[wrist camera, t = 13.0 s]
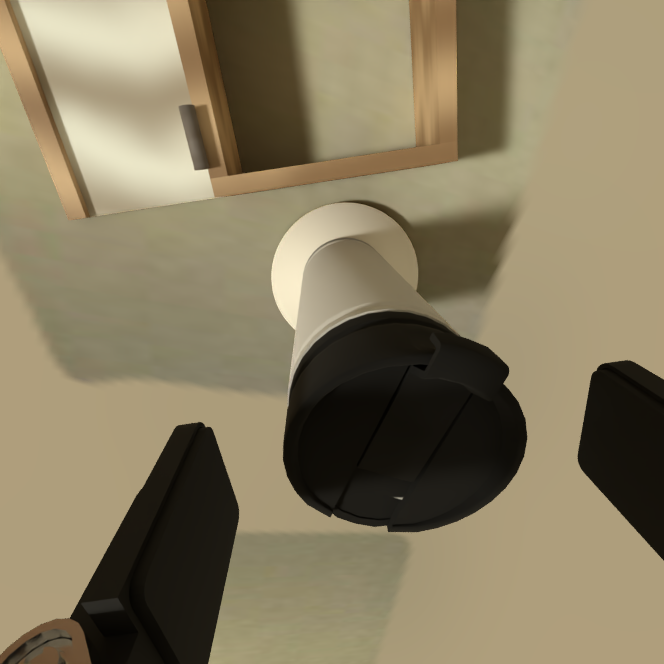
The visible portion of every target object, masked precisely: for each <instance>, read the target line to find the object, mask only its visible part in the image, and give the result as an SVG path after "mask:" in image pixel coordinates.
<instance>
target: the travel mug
mask: <svg viewBox="0 0 664 664" xmlns="http://www.w3.org/2000/svg"><path fill="white" fill-rule="evenodd" d="M508 374H509V367H508V366H507V365H506V364H505V363H504V362H503V361H502V360H501V359H500V358H499V357H498V356H497V355H496V354H495V353H494V352H492V351H491V350H490V349H489V348H488V347H486V346H484V345H481V344H479V343H477V342H474V341H472V340H469V339H466V338H463V337H461V336H460V335H459V334H458V333H457V332H456V331H455V330H454V329H452V327H451V326H450V325H449V324H448V323H447V322H446V321H445V320H444V319H443V318H442V317H441V316H440V315H439V314H438V313H437V312H436V311H435V310H434V309H433V308H432V307H431V306H430V305H429V304H428V303H427V302H426V301H425V300H424V299H423V298H422V297H421V296H420V294H419V293H418V292H417V291H416V290H415V289H414V288H413V287H412V286H411V285H410V284H409V283H408V282H407V281H406V280H405V279H404V278H403V277H402V276H401V275H400V274H399V273H398V272H397V271H396V270H395V269H394V268H393V267H392V266H391V265H390V264H389V263H388V262H387V261H386V260H385V259H384V258H383V257H382V256H381V255H380V254H379V253H378V252H377V251H376V250H375V249H374V248H373V247H371V246H370V245H369V244H367V243H365V242H363V241H361V240H358V239H354V238H337V239H333V240H331V241H328V242H326V243H324V244H323V245H321V246H320V247H318V248H317V249H316V250H315V251H314V252H313V253H312V255H311V256H310V257H309V259H308V261H307V263H306V265H305V268H304V272H303V279H302V286H301V294H300V301H299V309H298V317H297V325H296V332H295V340H294V348H293V355H292V363H291V371H290V381H289V386H288V409H287V418H286V426H285V434H284V445H283V462H284V465H285V469H286V473H287V477H288V479H289V481H290V482H291V484H292V486H293V488H294V490H295V491H296V492H297V494H298V495H299V496H300V497H301V498H302V499H303V500H304V502H305V503H306V504H307V505H309V506H311V507H313V508H315V509H316V510H318V511H320V512H321V513H323V514H325V515H327V516H328V517H331V515H332V513H333V514H334V515H335V516H336V517H338V518H341V519H344V520H347V521H350V522H353V523H356V524H362V525H367V526H373V527H377V526H385V525H387V528H388V532H420V531H425V530H430V529H434V528H439V527H442V526H445V525H448V524H451V523H453V522H457V521H459V520H461V519H463V518H464V517H467V516H469V515H471V514H473V513H475V512H476V511H478V510H479V509H481V508H482V507H484V506H485V505H487V504H488V503H489V502H491V501H492V500H493V499H494V498H495V497H497V496H498V495H499V494H500V493H501V492H502V491H503V490H504V489H505V488H506V487H507V485H508V484H509V483H510V481H511V480H512V478H513V477H514V476H515V474H516V473H517V471H518V469H519V466H520V464H521V462H522V460H523V457H524V454H525V448H526V442H527V431H526V421H525V417H524V415H523V412H522V410H521V407H520V405H519V402H518V401H517V400H516V398H515V397H514V396H513V394H512V393H511V392H510V390H509V389H508V388H507V387H506V386H505V385H504V384H503V383H504V381H505V380H506V378H507V377H508Z"/></svg>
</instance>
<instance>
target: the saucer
mask: <svg viewBox="0 0 664 664" xmlns="http://www.w3.org/2000/svg"><path fill="white" fill-rule="evenodd" d="M337 238H354V239H358V240H361V241H363V242H365V243H367V244H369V245H370V246H371V247H373V248H374V249H375V250H376V251H377V252H378V253H379V254H380V255H381V256H382V257H383V258H384V259H385V260H386V261H387V262H388V263H389V264H390V265H391V266H392V267H393V268H394V269H395V270H396V271H397V272H398V273H399V274H400V275H401V276H402V277H403V278H404V279H405V280H406V281H407V282H408V283H409V284H410V285H411V286H412V287H413V288H414V289H415V290H417V284H418V263H417V258H416V254H415V250H414V248H413V245H412V243H411V241H410V239H409V238H408V236H407V234H406V233H405V232H404V230H403V229H402V228H401V227H400V225H399V224H397V223H396V222H395V221H394V220H393V219H392V218H391V217H389V216H388V215H386V214H385V213H383V212H381V211H379V210H377V209H375V208H373V207H370V206H367V205H363V204H358V203H350V202H341V203H333V204H328V205H324V206H322V207H319V208H316V209H314V210H312V211H310V212H309V213H307V214H305V215H304V216H303V217H301V218H300V219H298V220H297V221H296V222H295V223H294V224H293V225H292V226H291V227H290V229H289V230H288V231H287V232H286V234H285V235H284V237H283V239H282V240H281V242H280V244H279V246H278V248H277V250H276V253H275V256H274V260H273V265H272V272H271V278H272V289H273V294H274V297H275V301H276V303H277V305H278V308H279V310H280V311H281V313H282V315H283V317H284V318H285V319H286V320H287V322H288V323H289V324H290V325H291V326H292V327H293V328H294V329H295V330H296V325H297V317H298V309H299V301H300V294H301V286H302V279H303V272H304V268H305V265H306V263H307V261H308V259H309V257H310V256H311V255H312V253H313V252H314V251H315V250H316V249H317V248H318V247H320V246H321V245H323V244H324V243H326V242H328V241H331V240H333V239H337Z"/></svg>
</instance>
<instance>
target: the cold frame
mask: <svg viewBox="0 0 664 664" xmlns="http://www.w3.org/2000/svg"><path fill="white" fill-rule="evenodd" d="M409 6H410V27H411V48H412V69H413V89H414V110H415V131H416V147H415V148H409V149H402V150H395V151H389V152H382V153H376V154H369V155H363V156H356V157H349V158H343V159H336V160H330V161H323V162H317V163H310V164H304V165H297V166H290V167H284V168H277V169H271V170H264V171H258V172H251V173H244V174H243V172H242V168H241V163H240V158H239V154H238V149H237V144H236V139H235V135H234V130H233V125H232V121H231V116H230V111H229V107H228V102H227V97H226V93H225V88H224V83H223V79H222V74H221V69H220V64H219V60H218V55H217V50H216V46H215V41H214V36H213V32H212V27H211V22H210V18H209V13H208V8H207V4H206V0H0V48H1V50H2V53H3V55H4V58H5V61H6V63H7V66H8V68H9V71H10V73H11V76H12V78H13V81H14V83H15V86H16V88H17V91H18V93H19V96H20V98H21V101H22V104H23V106H24V109H25V111H26V114H27V116H28V119H29V121H30V124H31V126H32V129H33V131H34V134H35V136H36V139H37V141H38V144H39V147H40V149H41V152H42V154H43V157H44V159H45V162H46V164H47V167H48V169H49V172H50V174H51V177H52V179H53V182H54V184H55V187H56V190H57V192H58V195H59V197H60V200H61V202H62V205H63V207H64V210H65V212H66V215H67V217H68V220H74V219H81V218H88V217H94V216H101V215H108V214H114V213H121V212H127V211H134V210H140V209H147V208H154V207H160V206H167V205H173V204H180V203H187V202H193V201H200V200H206V199H213V198H220V197H226V196H233V195H239V194H246V193H252V192H259V191H266V190H272V189H279V188H285V187H292V186H299V185H305V184H312V183H318V182H325V181H332V180H338V179H345V178H351V177H358V176H364V175H371V174H378V173H384V172H391V171H397V170H404V169H411V168H417V167H424V166H430V165H436V164H442V163H447V162H453V161H458V142H457V43H456V0H409Z"/></svg>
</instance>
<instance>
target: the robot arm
mask: <svg viewBox="0 0 664 664" xmlns="http://www.w3.org/2000/svg"><path fill="white" fill-rule="evenodd" d="M578 462H579V465H580V467H581V469H582V471H583V472H584V473H585V474H586V475H587V476H588V477H589V478H590V480H591V481H592V482H593V483H594V484H595V485H596V486H597V487H598V488H599V490H600V491H601V492H602V493H603V494H604V495H605V496H606V497H607V498H608V500H609V501H610V502H611V503H612V504H613V505H614V506H615V507H616V508H617V509H618V511H619V512H620V513H621V514H622V515H623V516H624V517H625V518H626V519H627V520H628V522H629V523H630V524H631V525H632V526H633V527H634V528H635V529H636V531H637V532H638V533H639V534H640V535H641V536H642V537H643V538H644V539H645V540H646V541H647V543H648V544H649V545H650V546H651V547H652V548H653V549H654V550H655V551H656V552H657V554H658V555H659V556H660V557H661V558H662V559H663V560H664V380H663V379H662V378H660V377H658V376H657V375H655V374H653V373H652V372H650V371H648V370H646V369H645V368H643V367H641V366H640V365H638V364H636V363H634V362H632V361H628V360H625V361H618V362H611V363H604V364H602V365H600V366H599V367H598V368H597V371H595V372H593V374H592V376H591V381H590V387H589V393H588V399H587V404H586V410H585V416H584V422H583V427H582V433H581V440H580V445H579V451H578ZM238 520H239V508H238V503H237V500H236V497H235V494H234V491H233V489H232V486H231V483H230V479H229V477H228V474H227V471H226V468H225V465H224V462H223V459H222V456H221V453H220V450H219V447H218V444H217V441H216V438H215V435H214V432H213V430H212V428H211V427H205V425H204V424H203V423H201V422H198V423H191V424H185V425H178V426H177V427H176V428H175V429H174V431H173V433H172V435H171V436H170V438H169V440H168V442H167V444H166V446H165V448H164V449H163V451H162V453H161V455H160V457H159V459H158V461H157V462H156V465H155V466H154V468H153V470H152V472H151V474H150V476H149V477H148V479H147V481H146V483H145V485H144V487H143V488H142V489H141V490H140V492H139V493H138V495H137V496H136V498H135V499H134V501H133V503H132V505H131V507H130V509H129V510H128V512H127V514H126V516H125V518H124V520H123V521H122V523H121V525H120V527H119V529H118V531H117V532H116V534H115V536H114V538H113V540H112V542H111V543H110V546H109V547H108V549H107V551H106V553H105V554H104V556H103V558H102V560H101V562H100V564H99V566H98V567H97V569H96V571H95V573H94V575H93V576H92V578H91V580H90V582H89V584H88V586H87V588H86V589H85V591H84V593H83V595H82V597H81V599H80V600H79V602H78V604H77V606H76V608H75V610H74V612H73V613H72V615H71V617H70V619H69V618H67V619H66V618H65V619H55V620H52V621H49V622H46V623H43V624H41V625H39V626H37V627H35V628H34V629H32V630H30V631H29V632H27V633H25V634H24V635H22V636H21V637H20V638H19V639H18V640H16V641H15V642H14V643H13V644H11V645H10V646H9V647H8V648H7V649H6V650H5V651H4V652H3V653H2V654H1V655H0V664H208V662H209V657H210V652H211V647H212V643H213V638H214V633H215V629H216V624H217V619H218V615H219V610H220V605H221V600H222V596H223V591H224V586H225V582H226V577H227V572H228V568H229V563H230V558H231V553H232V549H233V544H234V539H235V535H236V530H237V525H238Z"/></svg>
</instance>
